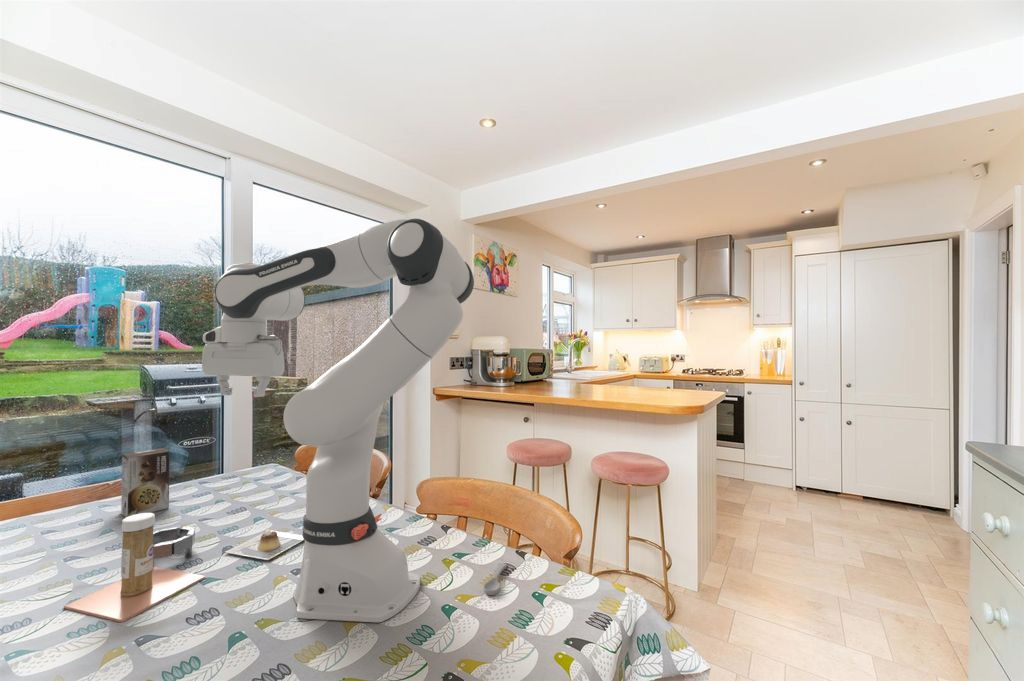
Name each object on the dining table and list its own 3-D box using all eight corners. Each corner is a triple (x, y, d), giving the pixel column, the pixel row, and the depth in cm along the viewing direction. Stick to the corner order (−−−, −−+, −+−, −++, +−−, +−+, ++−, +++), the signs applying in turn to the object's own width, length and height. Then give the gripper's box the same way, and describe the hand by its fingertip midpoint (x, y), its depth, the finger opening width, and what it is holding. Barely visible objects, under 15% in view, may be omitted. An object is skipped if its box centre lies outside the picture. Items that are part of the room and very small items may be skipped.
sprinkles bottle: (150, 592, 77) (152, 517, 77) (116, 600, 74) (119, 523, 74) (154, 581, 80) (156, 509, 81) (122, 588, 78) (124, 514, 78)
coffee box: (162, 503, 122) (163, 447, 122) (169, 508, 118) (171, 450, 119) (119, 513, 115) (121, 453, 115) (126, 518, 111) (128, 457, 111)
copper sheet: (205, 578, 82) (205, 576, 82) (122, 622, 69) (122, 620, 69) (152, 567, 86) (152, 565, 86) (63, 608, 72) (63, 605, 72)
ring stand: (204, 550, 94) (204, 529, 94) (158, 571, 84) (158, 549, 85) (172, 544, 96) (172, 524, 96) (123, 565, 87) (124, 543, 87)
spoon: (481, 597, 77) (481, 586, 77) (495, 569, 88) (496, 559, 89) (497, 599, 76) (497, 588, 76) (509, 570, 88) (510, 560, 88)
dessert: (269, 534, 103) (270, 514, 103) (310, 540, 100) (310, 520, 100) (224, 557, 92) (224, 534, 92) (267, 565, 88) (268, 542, 89)
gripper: (292, 335, 97) (290, 396, 96) (222, 335, 102) (220, 393, 102) (269, 334, 91) (268, 399, 90) (196, 334, 96) (195, 395, 96)
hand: (242, 395), depth 96 cm, fingers open, 8 cm apart
